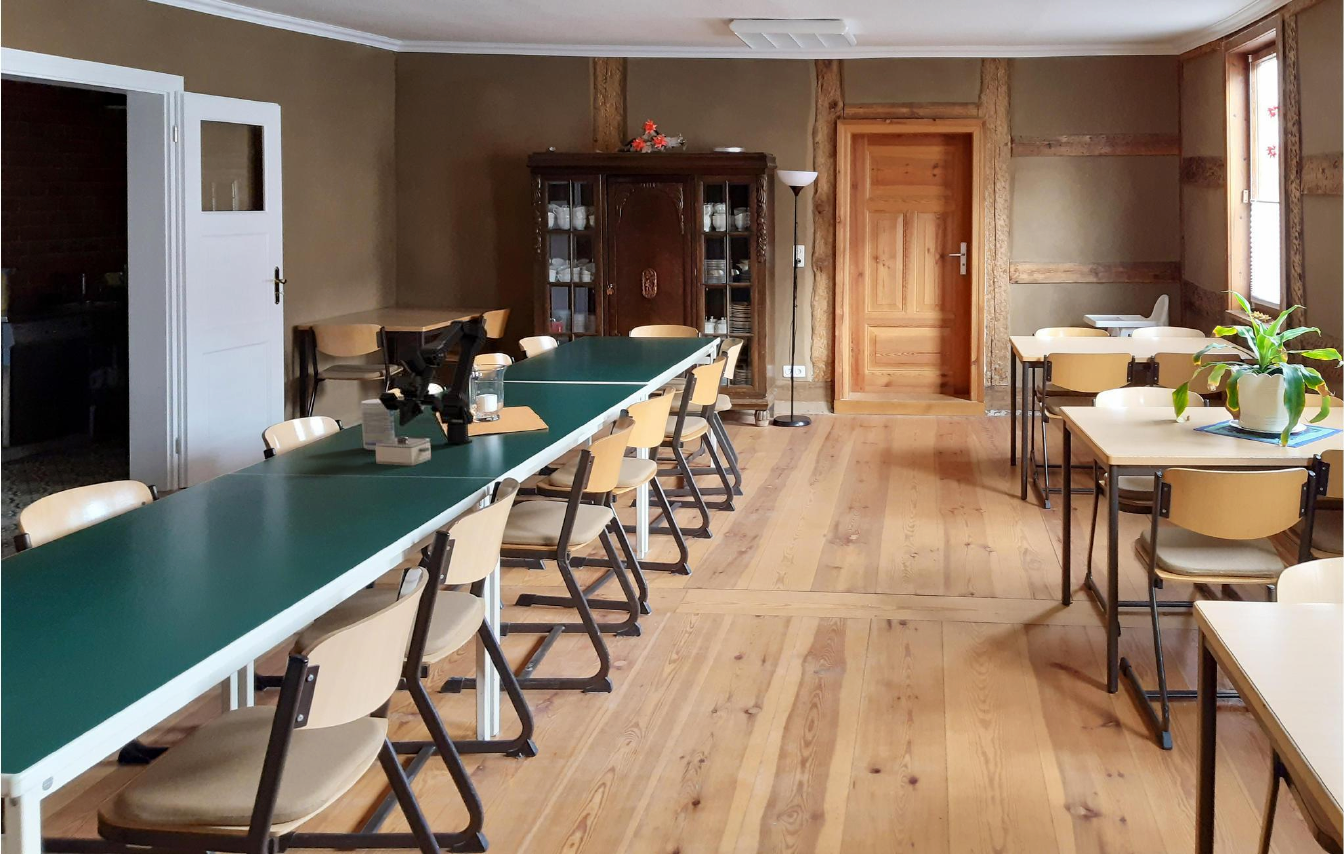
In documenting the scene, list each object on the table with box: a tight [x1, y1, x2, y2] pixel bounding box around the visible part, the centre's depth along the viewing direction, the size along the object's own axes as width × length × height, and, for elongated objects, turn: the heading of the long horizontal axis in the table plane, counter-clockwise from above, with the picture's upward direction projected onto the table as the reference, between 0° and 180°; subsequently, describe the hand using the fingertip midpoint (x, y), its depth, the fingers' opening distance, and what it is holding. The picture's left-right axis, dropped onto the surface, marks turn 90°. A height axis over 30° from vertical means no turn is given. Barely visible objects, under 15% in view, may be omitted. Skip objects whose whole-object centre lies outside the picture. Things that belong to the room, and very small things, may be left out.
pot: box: [375, 441, 432, 467], centre depth 362 cm, size 10×16×5 cm, turn 69°
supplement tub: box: [360, 398, 396, 451], centre depth 383 cm, size 10×10×15 cm
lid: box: [376, 435, 431, 447], centre depth 361 cm, size 10×12×2 cm
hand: (401, 425), depth 360 cm, fingers closed
